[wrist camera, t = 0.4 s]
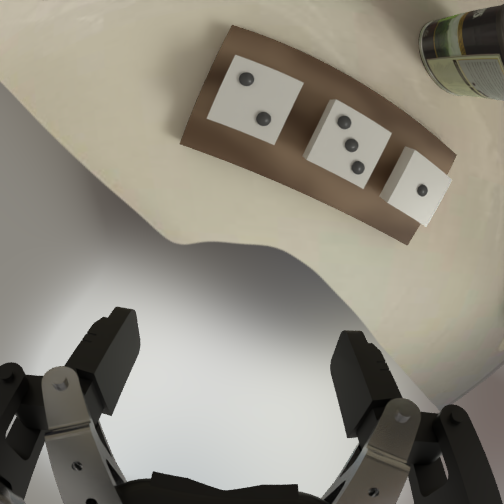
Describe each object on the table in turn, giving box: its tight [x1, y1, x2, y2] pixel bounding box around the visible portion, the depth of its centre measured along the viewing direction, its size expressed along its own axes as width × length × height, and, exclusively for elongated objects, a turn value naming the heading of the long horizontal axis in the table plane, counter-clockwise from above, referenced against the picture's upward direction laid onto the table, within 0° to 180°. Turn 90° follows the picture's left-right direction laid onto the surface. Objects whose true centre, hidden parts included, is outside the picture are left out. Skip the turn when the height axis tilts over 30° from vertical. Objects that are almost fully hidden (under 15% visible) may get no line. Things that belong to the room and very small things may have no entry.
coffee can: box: [419, 4, 504, 101], centre depth 15 cm, size 10×10×14 cm
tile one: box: [379, 146, 452, 227], centre depth 25 cm, size 6×6×2 cm
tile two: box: [207, 55, 304, 145], centre depth 21 cm, size 6×6×2 cm
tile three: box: [303, 99, 392, 189], centre depth 23 cm, size 6×6×2 cm
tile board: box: [180, 25, 456, 245], centre depth 26 cm, size 13×28×2 cm, turn 67°
